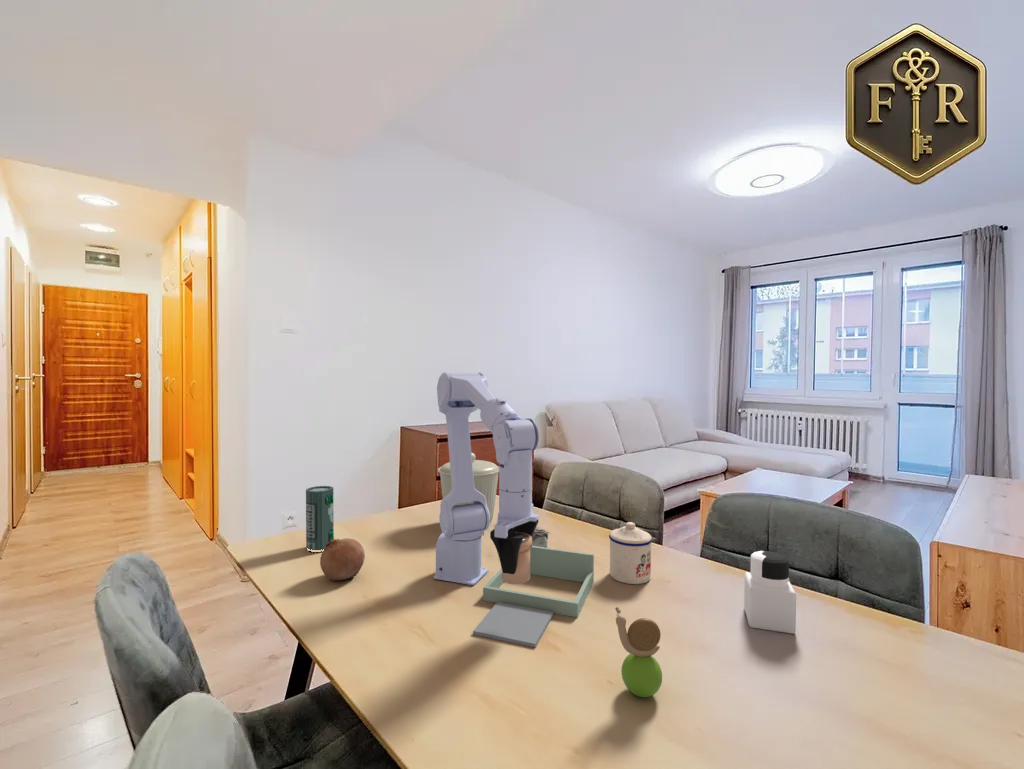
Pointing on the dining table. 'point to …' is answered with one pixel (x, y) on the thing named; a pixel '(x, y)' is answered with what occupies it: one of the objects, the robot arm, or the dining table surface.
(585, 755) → the dining table surface
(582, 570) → the frame
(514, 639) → the slate mat
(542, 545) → the decorative bird
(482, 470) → the canister
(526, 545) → the terracotta pot
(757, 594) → the medicine bottle
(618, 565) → the teacup with lid
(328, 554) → the brown kiwi fruit
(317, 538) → the can
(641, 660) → the snail figurine
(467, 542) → the robot arm
